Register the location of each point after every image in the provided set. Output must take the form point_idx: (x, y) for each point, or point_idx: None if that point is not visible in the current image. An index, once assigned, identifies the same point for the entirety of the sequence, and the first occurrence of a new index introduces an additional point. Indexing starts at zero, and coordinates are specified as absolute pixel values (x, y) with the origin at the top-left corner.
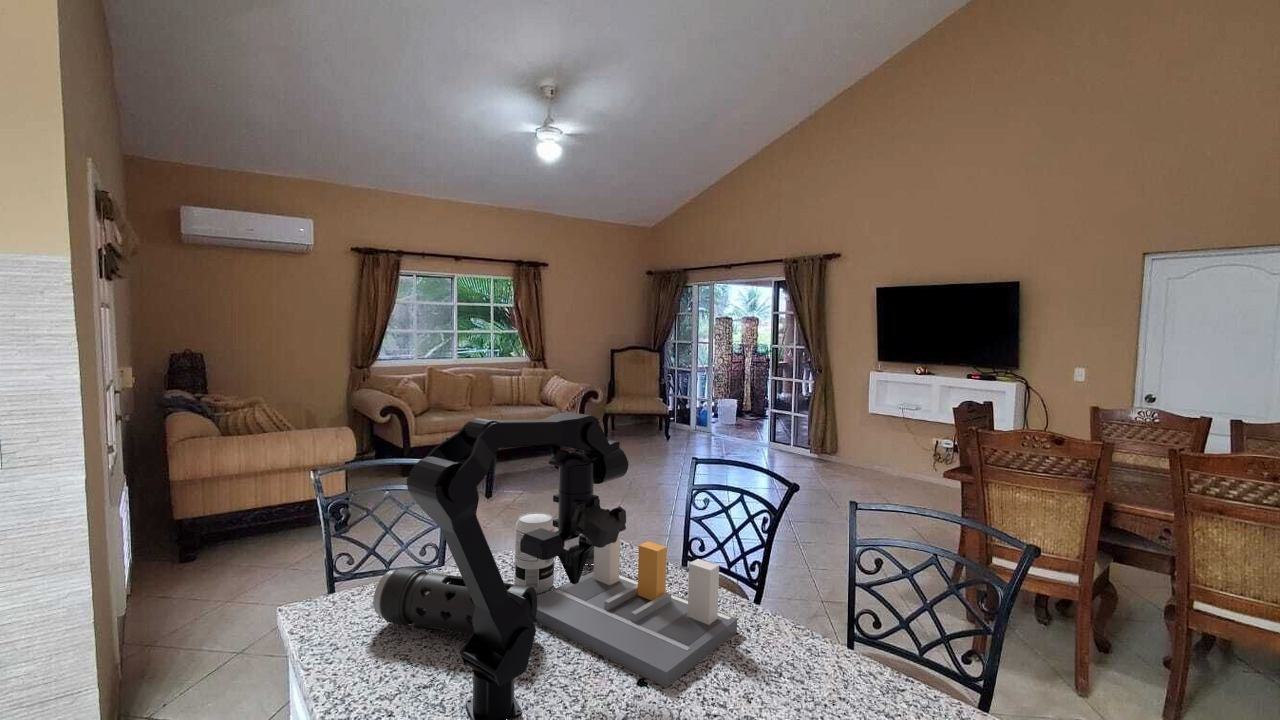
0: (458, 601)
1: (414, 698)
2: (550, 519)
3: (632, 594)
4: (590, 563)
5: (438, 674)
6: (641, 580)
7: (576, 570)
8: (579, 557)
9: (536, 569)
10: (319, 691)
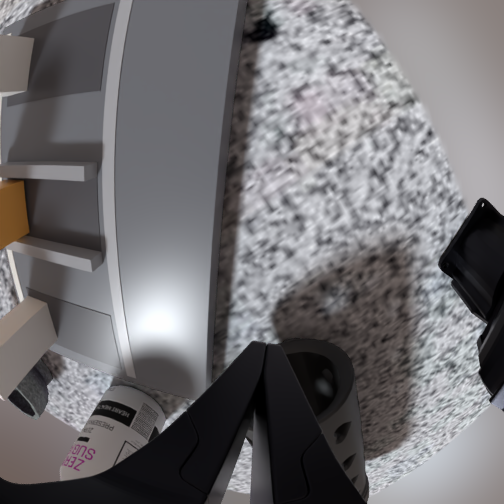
0: (357, 467)
1: (475, 356)
2: None
3: (35, 240)
4: (38, 361)
5: (424, 375)
6: (2, 236)
7: (284, 405)
8: (222, 478)
9: (133, 429)
10: (471, 421)
